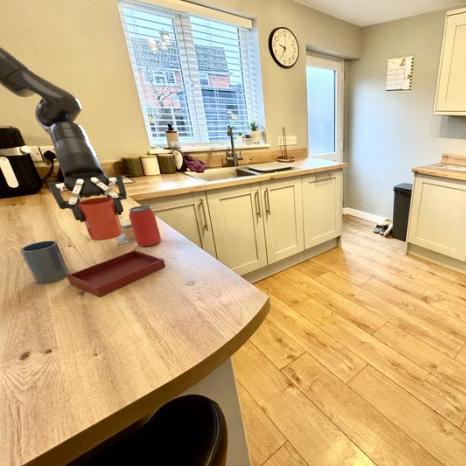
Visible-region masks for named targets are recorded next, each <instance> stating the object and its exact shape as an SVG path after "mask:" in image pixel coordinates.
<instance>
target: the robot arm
mask: <svg viewBox="0 0 466 466" xmlns="http://www.w3.org/2000/svg"><path fill="white" fill-rule="evenodd" d="M0 85H1V86H2V87H3V88H5V89H6V90H7V91H9V92H10V93H12V94H14V95H15V96H17V97H20V98H29V97H32V96H33V95H35V94H36V95H38V96H39V97H40V98H41V99H40V101H39V102H38V104H37V105H36V107H35V109H34V117H35V120H36V122H37V123H38V124H39V126H40V127H41V128H42V129H43V131H44V132H46V134H47V135H48V136H49V138H50V141H51V143H52V146H53V148H54V154H55V158H56V161H57V163H58V165H59V168H60V170H61V173H62V176H63V179H64V181H63V182H61V183H55V182H48V184H47V186H48V188H49V190H50V192H51V194H52V196H53V198H54V200H55V202H56V203H57V205H58V207H59V209H61V210H66V209H69V210H71V212H72V215H73V217H74V220H76V221H79V222H80V223H85V222H84V219H83V216H82V213H81V211H80V208H79V206H78V202H80V201H83V198H85V199H86V198H90V197H100V196H101V197H109V198H112V199H113V202H114V205H115V208H116V211H117V214H118V216H122V215H123V214H122V213H124V206H123V204H122V202H121V201H122V200H124V201H125V200H127V198H128V196H127V190H126V187H125V183H124V180H123V177H122V175H120V174H117V175H116V176H115V177H109V176H107V175H106V174H105V171H104V170H103V167H102V166H101V163H100V160H99V158H98V154H97V153H96V151H95V150H94V147H93V146H92V144H91V142H90V140H89V137H88V134H87V132H86V131H85V129H84V128H83V127H82V126H81V125H80V124H78V123H76V122H75V121H76V119H77V118H78V116H79V115H80V113H81V112H82V105H81V103H80V101H79V99H78V98H77V97H76V96H75V95H73V94H72V93H71V92H69V91H67V90H65V89H64V88H62V87H59V86H58V85H56V84H54V83H52V82H50V81H48V79H45V78H43V77H41V76H40V75H38V74H36V73H35V72H34V71H32V70H31V69H30V68H29V67H27V66H26V65H25V64H24V63H22V62H21V61H20V60H19V59H17V57H16V56H14V55H12V54H11V53H10V52H8V51H7V50H6V49H4V48H3V47H2V46H0ZM110 184H112V185H113V186H114V187H117V189H118V193H116V192H115V191H113V190H112V189H111V188H110V187H109V185H110ZM65 189H66V190H67V191H70V192H71V194H70V198H69V200H64V198H63V195H62V194H63V193H65V192H64V190H65Z"/></svg>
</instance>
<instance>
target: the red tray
mask: <svg viewBox="0 0 466 466" xmlns="http://www.w3.org/2000/svg"><path fill="white" fill-rule="evenodd" d="M164 268H166V262H165V259H164V258H160V257H157V256H155V255H151V254H148V253H144V252H142V251H139V250H136V249H134V250H131V251H128V252H126V253H123V254H121V255H118V256H117V255H116V256H114V257H111V258H109V259H106V260H104V261H102V262H99V263H96V264H93V265H90V266H88V267H86V268H83V269H80V270H77V271H75V272H72V273H70V274H69V275H67V277H66V278H67V280H68V282H69V284H70V285H72V286H75V287H76V288H79V289H81V290H83V291H86V292H87V293H90V294H92V295H93V296H96V297H98V298H101V297H103V296H105V295H108V294H110V293H112V292H114V291H116V290H119V289H121V288H123V287H126V286H127V285H129V284H131V283H134V282H137V281H138V280H141V279H142V278H144V277H147V276H149V275H151V274H153V273H156V272H157V271H160V270H162V269H164Z"/></svg>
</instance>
